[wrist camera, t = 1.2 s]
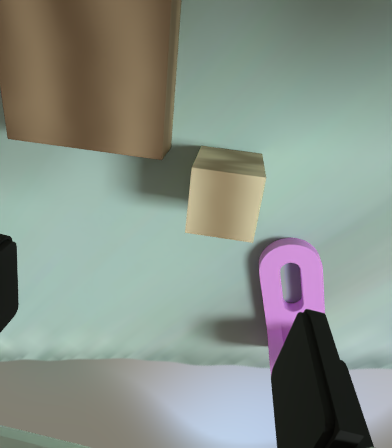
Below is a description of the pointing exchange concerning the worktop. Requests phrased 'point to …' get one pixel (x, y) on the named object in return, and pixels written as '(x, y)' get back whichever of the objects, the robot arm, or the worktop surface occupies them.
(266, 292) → the bracket
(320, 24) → the worktop surface
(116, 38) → the base block
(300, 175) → the worktop surface
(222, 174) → the maple block
